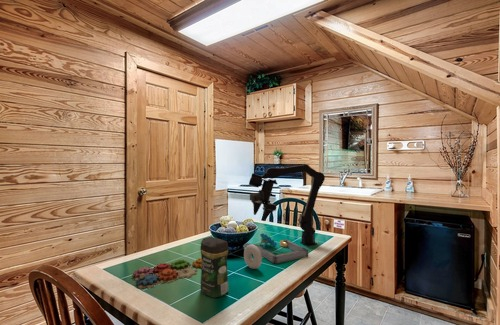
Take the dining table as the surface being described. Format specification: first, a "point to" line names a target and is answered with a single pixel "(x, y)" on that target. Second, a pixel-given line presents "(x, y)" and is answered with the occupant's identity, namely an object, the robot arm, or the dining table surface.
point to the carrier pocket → (298, 253)
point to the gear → (267, 240)
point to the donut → (256, 253)
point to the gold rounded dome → (284, 243)
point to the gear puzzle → (165, 273)
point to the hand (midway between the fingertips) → (258, 217)
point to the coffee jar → (214, 267)
